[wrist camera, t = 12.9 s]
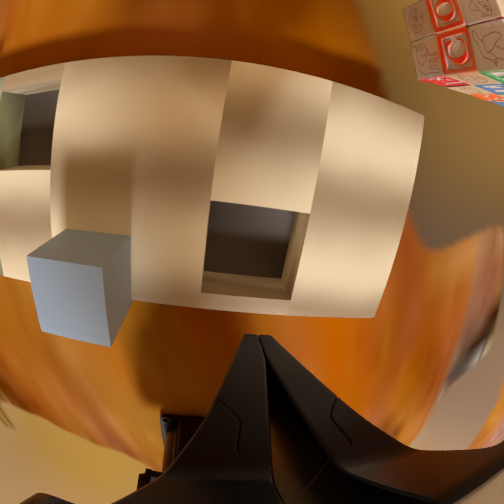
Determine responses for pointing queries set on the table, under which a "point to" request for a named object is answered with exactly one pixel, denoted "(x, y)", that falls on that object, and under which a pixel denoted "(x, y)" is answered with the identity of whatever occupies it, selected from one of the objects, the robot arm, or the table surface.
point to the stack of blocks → (459, 45)
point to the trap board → (211, 179)
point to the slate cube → (82, 284)
